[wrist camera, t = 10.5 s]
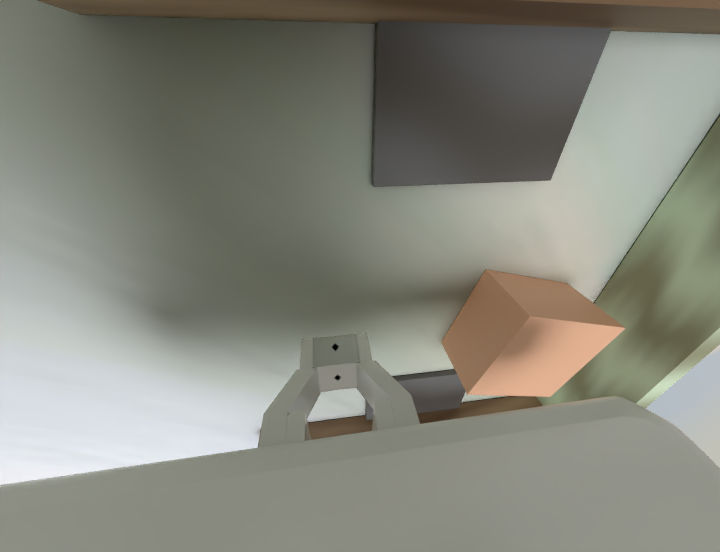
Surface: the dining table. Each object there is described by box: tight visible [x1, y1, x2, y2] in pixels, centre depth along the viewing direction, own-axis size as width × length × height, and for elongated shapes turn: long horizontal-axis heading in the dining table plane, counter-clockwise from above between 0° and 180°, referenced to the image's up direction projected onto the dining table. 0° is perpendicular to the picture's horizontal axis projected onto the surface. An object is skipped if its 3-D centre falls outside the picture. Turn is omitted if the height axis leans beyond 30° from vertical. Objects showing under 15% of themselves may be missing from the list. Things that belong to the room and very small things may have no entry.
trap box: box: [38, 0, 720, 446], centre depth 14 cm, size 26×25×5 cm
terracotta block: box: [441, 270, 625, 397], centre depth 16 cm, size 6×6×4 cm
